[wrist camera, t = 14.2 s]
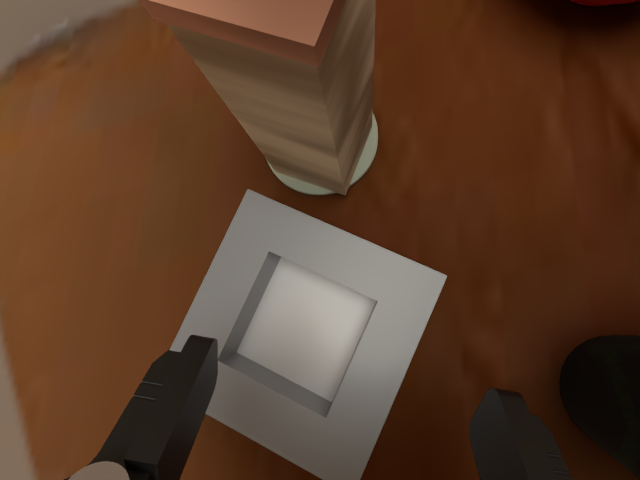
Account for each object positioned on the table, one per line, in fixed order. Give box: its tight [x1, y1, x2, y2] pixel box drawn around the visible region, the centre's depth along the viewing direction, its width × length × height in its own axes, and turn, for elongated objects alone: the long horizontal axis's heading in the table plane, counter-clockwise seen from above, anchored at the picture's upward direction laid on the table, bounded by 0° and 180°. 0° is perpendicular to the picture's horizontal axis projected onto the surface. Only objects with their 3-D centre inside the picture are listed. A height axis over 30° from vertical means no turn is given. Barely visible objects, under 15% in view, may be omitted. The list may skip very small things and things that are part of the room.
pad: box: [266, 114, 378, 196], centre depth 23 cm, size 7×7×1 cm
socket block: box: [170, 189, 447, 480], centre depth 20 cm, size 11×11×3 cm
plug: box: [139, 0, 375, 196], centre depth 16 cm, size 5×5×14 cm
